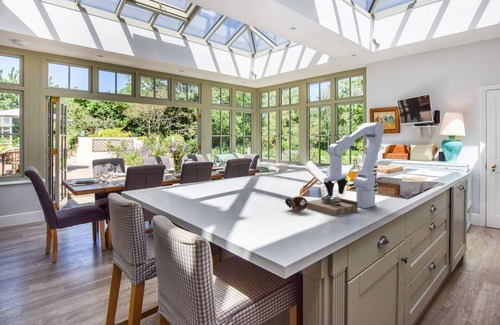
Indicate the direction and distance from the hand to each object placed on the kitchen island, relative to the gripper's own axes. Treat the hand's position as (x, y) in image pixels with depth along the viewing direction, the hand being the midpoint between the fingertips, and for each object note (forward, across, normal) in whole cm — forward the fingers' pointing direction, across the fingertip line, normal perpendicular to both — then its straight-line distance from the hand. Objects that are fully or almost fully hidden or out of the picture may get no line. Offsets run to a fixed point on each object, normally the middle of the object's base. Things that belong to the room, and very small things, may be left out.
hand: (335, 194), depth 147 cm
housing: (+8, 0, -3) cm, 8 cm away
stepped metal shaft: (+8, 0, 0) cm, 8 cm away
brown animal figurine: (+8, +16, -12) cm, 21 cm away
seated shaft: (+8, 0, -6) cm, 10 cm away
